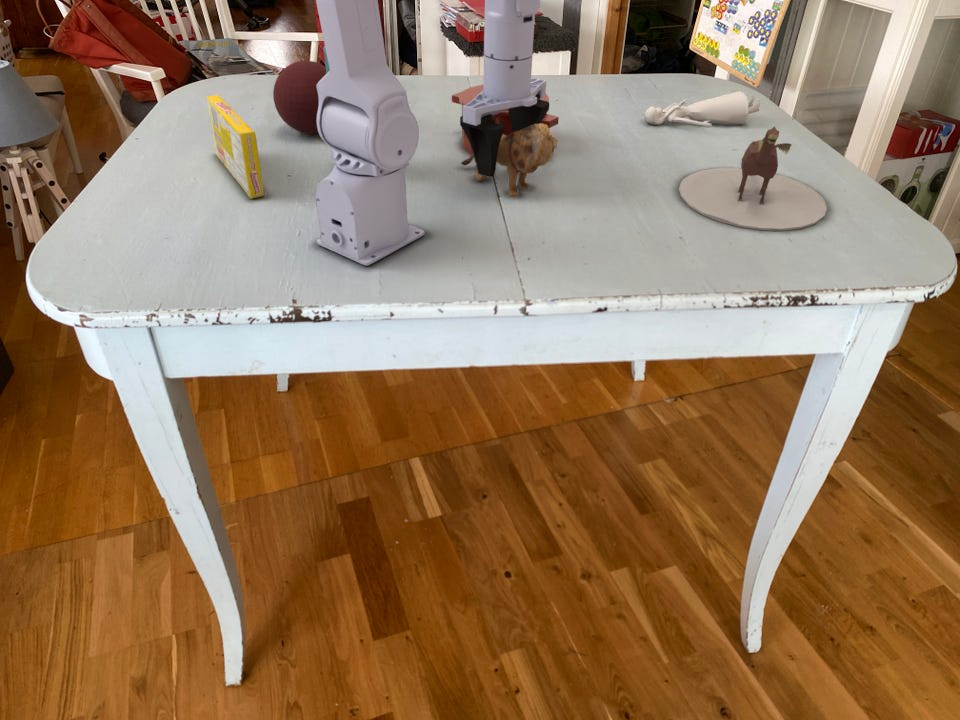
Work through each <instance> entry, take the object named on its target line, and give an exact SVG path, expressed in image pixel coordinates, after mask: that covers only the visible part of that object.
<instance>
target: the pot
mask: <svg viewBox="0 0 960 720" xmlns="http://www.w3.org/2000/svg"><path fill="white" fill-rule="evenodd" d="M461 92H462V91H460V92H457V93H455V94H452V95H451V103H453V104H454V103H455V104H458V105H461V104H460V102H459V95H460V93H461ZM461 116H463V106H462V105H461ZM559 118H560V117H559V116H557V115H553V114H549V113H546V115H545V116H544V118H543V120H542V122H541V123H542V124H546V125H548V127H549V129H551V128H553V127H555V126H557V125H559ZM492 120H495V123H498V124H501V125H505V126H506V128H505V130H504V132H503V134H504V135H506V136H509V135H510V134H511V133H512V128H511V121H510V116H502V115H493V116H492ZM461 143H462V148H463V150H464V151H465V152H466V153H468V154H470V155H472V153H473V150H472V147H471V145H470V142H469V140H468V138H467V136H466V134H465V132H464V130H463V129H462V128H461Z"/></svg>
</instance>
